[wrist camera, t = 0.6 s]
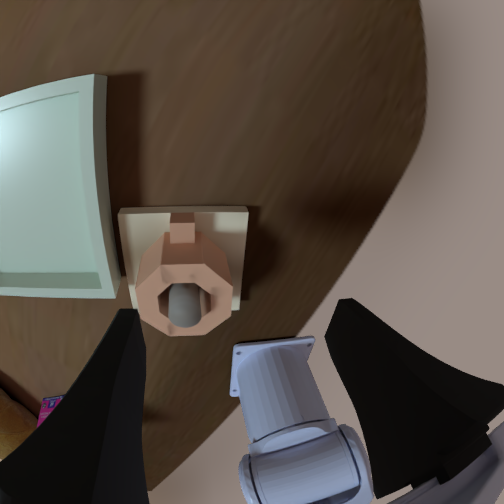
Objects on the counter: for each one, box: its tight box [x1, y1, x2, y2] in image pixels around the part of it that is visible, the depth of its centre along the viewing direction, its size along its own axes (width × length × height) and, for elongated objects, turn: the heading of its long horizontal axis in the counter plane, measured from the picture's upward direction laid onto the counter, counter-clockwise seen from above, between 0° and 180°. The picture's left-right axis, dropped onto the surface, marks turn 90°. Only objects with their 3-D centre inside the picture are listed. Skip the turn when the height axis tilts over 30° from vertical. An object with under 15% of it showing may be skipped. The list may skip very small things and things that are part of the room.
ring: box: [135, 212, 233, 336], centre depth 17 cm, size 7×5×4 cm
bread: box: [0, 388, 38, 460], centre depth 23 cm, size 18×35×10 cm, turn 0°
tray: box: [0, 74, 121, 298], centre depth 13 cm, size 14×14×2 cm
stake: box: [118, 206, 249, 328], centre depth 17 cm, size 8×8×6 cm
